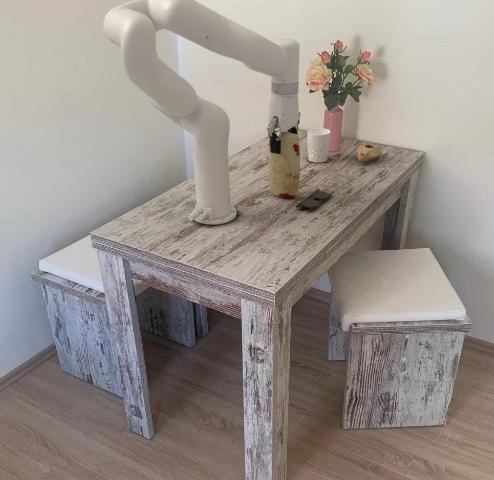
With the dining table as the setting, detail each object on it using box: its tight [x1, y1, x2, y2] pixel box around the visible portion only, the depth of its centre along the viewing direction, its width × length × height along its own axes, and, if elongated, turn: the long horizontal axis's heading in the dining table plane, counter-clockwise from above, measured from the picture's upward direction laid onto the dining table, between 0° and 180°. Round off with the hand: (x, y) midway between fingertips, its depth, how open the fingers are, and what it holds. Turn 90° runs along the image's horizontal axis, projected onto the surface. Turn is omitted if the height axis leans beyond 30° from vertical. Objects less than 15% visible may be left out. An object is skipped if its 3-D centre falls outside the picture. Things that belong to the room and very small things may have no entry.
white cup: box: [306, 127, 331, 164], centre depth 200 cm, size 8×8×10 cm
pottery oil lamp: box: [355, 142, 383, 163], centre depth 199 cm, size 9×12×7 cm
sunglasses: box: [295, 188, 331, 213], centre depth 171 cm, size 14×5×1 cm, turn 149°
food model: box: [268, 130, 301, 199], centre depth 170 cm, size 10×7×20 cm
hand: (284, 148), depth 168 cm, fingers open, 9 cm apart
